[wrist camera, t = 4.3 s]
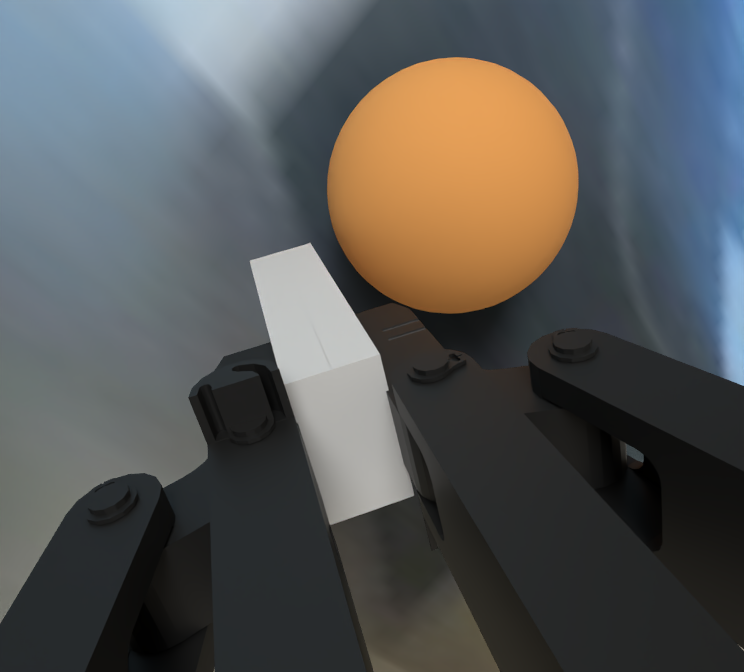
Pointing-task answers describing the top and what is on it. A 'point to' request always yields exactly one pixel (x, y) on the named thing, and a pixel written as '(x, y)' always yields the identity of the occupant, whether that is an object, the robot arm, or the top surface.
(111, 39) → the top surface
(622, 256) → the top surface
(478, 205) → the orange ball
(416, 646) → the top surface
